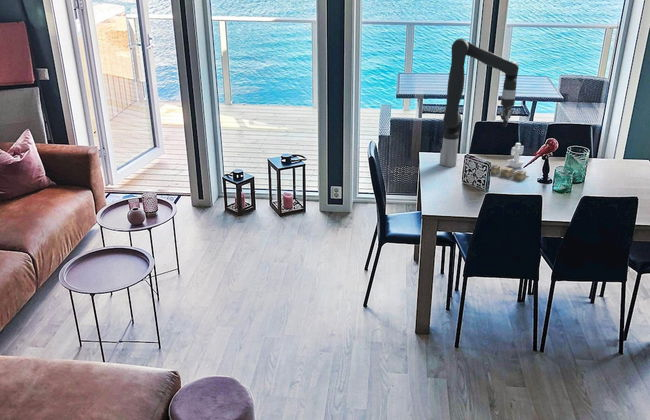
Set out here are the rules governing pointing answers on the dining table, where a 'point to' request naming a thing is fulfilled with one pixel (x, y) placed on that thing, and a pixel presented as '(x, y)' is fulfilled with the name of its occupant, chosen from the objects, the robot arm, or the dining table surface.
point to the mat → (507, 177)
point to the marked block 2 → (519, 174)
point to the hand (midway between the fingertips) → (504, 126)
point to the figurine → (516, 156)
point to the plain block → (506, 171)
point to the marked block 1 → (495, 168)
